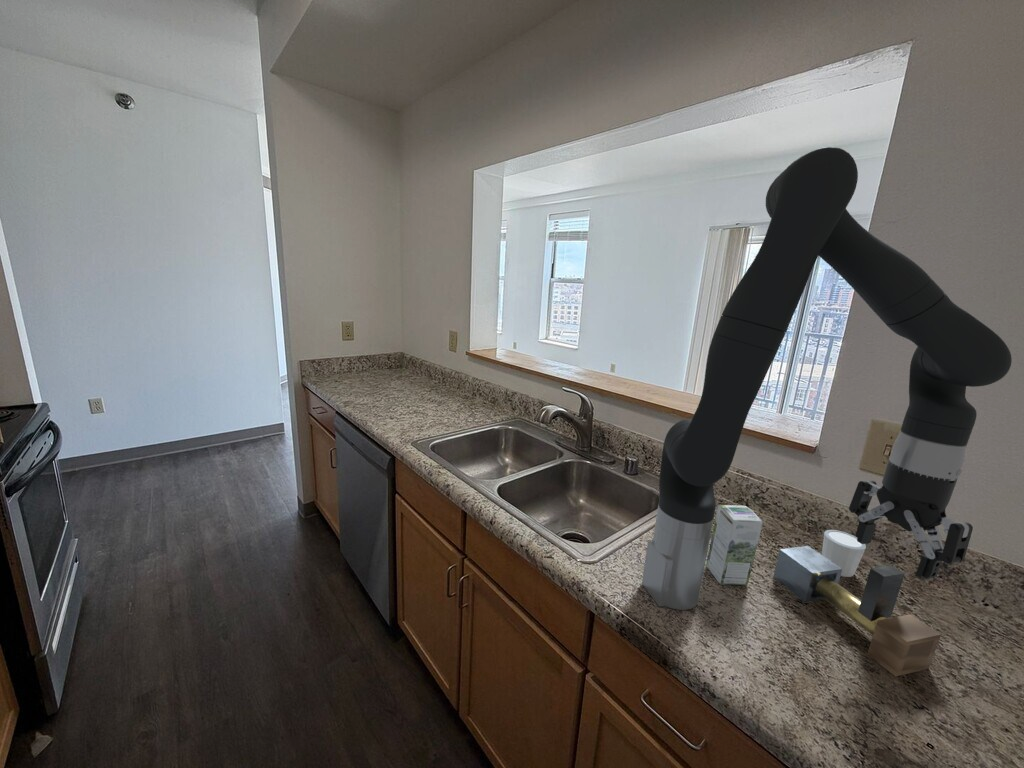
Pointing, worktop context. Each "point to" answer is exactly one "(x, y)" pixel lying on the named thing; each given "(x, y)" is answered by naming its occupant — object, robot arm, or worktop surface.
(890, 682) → the worktop surface
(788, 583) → the block
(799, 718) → the worktop surface
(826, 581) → the slide bolt
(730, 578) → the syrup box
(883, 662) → the socket block
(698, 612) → the worktop surface
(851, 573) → the shot glass
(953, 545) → the robot arm
